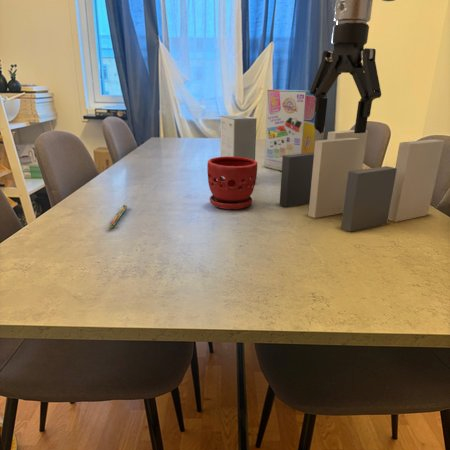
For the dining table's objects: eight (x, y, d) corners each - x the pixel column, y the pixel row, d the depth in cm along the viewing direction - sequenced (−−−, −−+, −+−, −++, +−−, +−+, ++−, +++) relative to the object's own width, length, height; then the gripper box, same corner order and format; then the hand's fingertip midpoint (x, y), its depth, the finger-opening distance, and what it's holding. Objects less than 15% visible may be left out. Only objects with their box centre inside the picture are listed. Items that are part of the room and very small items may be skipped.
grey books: (386, 223, 104) (397, 168, 98) (350, 231, 98) (358, 173, 92) (313, 199, 124) (317, 151, 118) (279, 204, 119) (282, 155, 113)
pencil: (112, 230, 98) (127, 208, 114) (111, 226, 98) (127, 204, 114) (106, 230, 98) (122, 208, 114) (105, 226, 98) (122, 204, 114)
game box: (311, 174, 155) (319, 90, 143) (300, 176, 152) (307, 90, 140) (274, 165, 170) (278, 88, 158) (263, 166, 168) (266, 89, 155)
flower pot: (200, 209, 115) (199, 162, 109) (218, 197, 125) (218, 154, 120) (246, 214, 110) (247, 166, 105) (261, 202, 121) (263, 157, 116)
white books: (427, 215, 110) (444, 140, 102) (395, 222, 105) (410, 144, 97) (351, 192, 131) (360, 129, 123) (321, 197, 126) (328, 131, 117)
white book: (350, 211, 113) (360, 138, 105) (314, 218, 108) (322, 142, 99) (343, 209, 115) (352, 137, 107) (308, 215, 110) (315, 140, 101)
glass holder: (298, 158, 185) (301, 120, 178) (312, 154, 196) (315, 118, 189) (317, 160, 181) (321, 121, 174) (330, 155, 191) (334, 119, 184)
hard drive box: (255, 184, 141) (257, 118, 132) (232, 185, 139) (233, 119, 130) (240, 174, 154) (241, 114, 145) (219, 176, 152) (219, 114, 143)
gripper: (300, 27, 100) (293, 125, 110) (384, 16, 81) (366, 136, 91) (325, 29, 103) (315, 124, 113) (411, 19, 84) (391, 134, 94)
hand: (338, 130), depth 102 cm, fingers open, 13 cm apart
